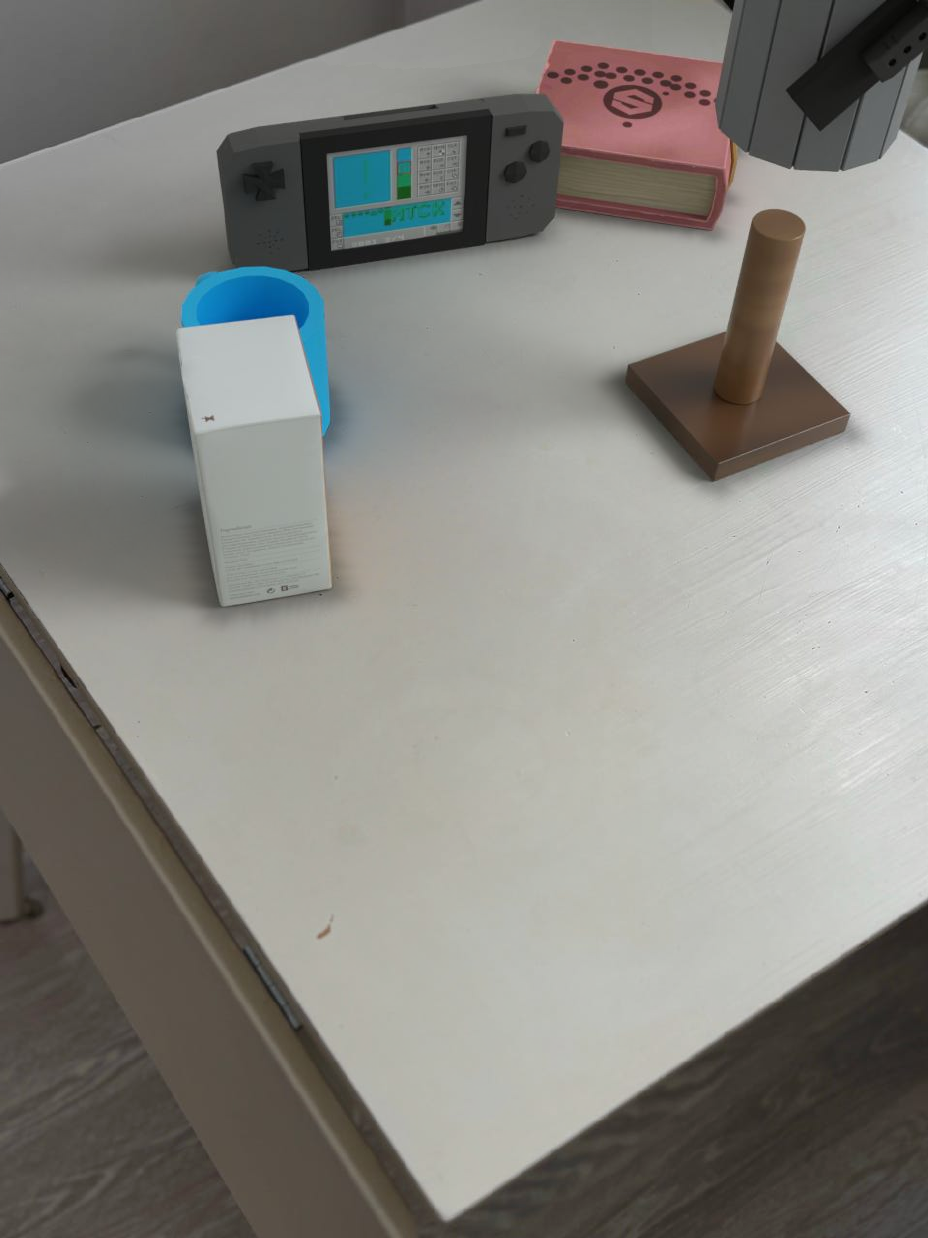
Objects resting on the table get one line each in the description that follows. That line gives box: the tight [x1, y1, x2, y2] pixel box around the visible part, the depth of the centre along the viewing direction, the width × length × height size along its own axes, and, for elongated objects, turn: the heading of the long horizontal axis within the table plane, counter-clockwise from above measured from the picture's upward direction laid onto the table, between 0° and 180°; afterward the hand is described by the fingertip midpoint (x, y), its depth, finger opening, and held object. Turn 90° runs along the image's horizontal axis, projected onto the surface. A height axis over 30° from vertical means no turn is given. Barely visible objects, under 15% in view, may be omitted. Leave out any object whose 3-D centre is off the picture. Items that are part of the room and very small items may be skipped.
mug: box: [180, 267, 331, 438], centre depth 82 cm, size 12×8×8 cm
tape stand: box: [624, 208, 851, 482], centre depth 81 cm, size 10×10×14 cm
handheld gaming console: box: [215, 93, 564, 272], centre depth 91 cm, size 23×3×10 cm, turn 107°
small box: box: [175, 315, 333, 607], centre depth 72 cm, size 8×6×13 cm
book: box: [535, 39, 738, 231], centre depth 101 cm, size 14×15×5 cm
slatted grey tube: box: [715, 0, 924, 173], centre depth 66 cm, size 9×9×12 cm
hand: (763, 55), depth 67 cm, fingers closed on slatted grey tube, 9 cm apart
